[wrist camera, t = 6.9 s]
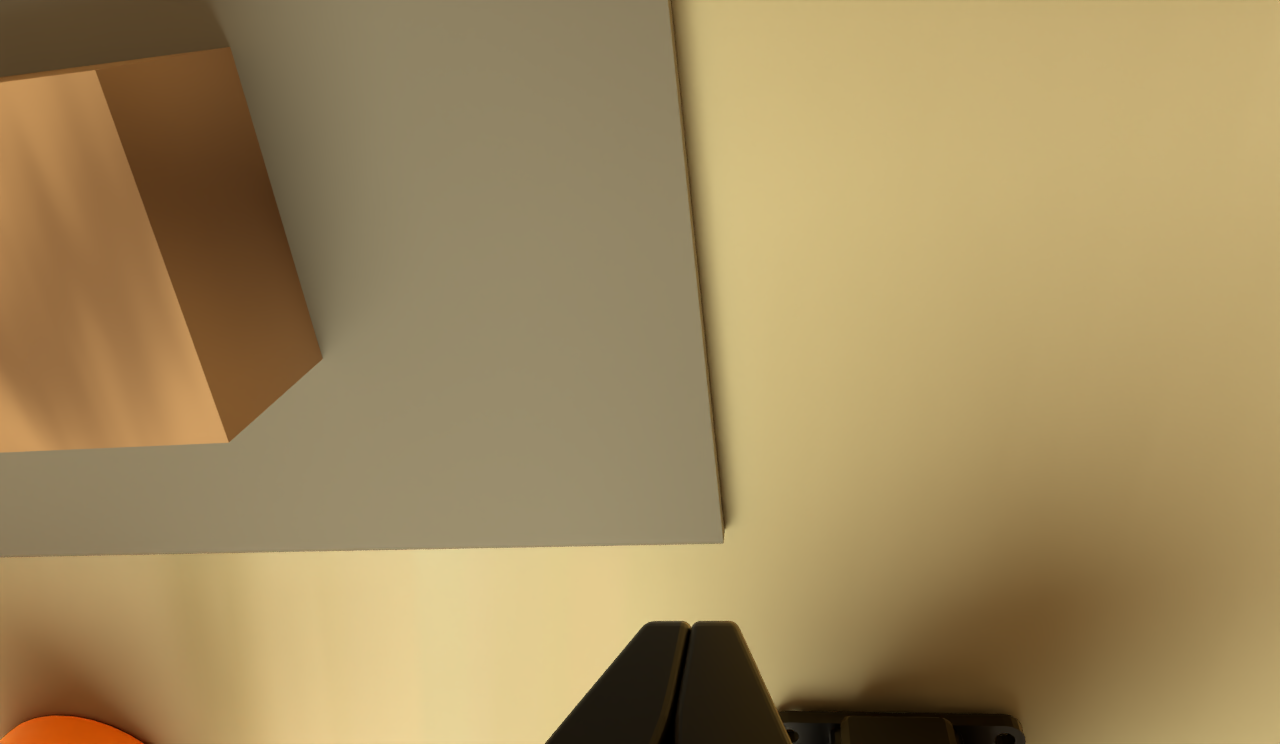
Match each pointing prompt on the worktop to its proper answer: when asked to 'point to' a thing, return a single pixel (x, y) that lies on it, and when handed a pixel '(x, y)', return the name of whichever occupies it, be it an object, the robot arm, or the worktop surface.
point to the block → (140, 259)
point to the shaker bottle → (66, 732)
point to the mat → (427, 286)
